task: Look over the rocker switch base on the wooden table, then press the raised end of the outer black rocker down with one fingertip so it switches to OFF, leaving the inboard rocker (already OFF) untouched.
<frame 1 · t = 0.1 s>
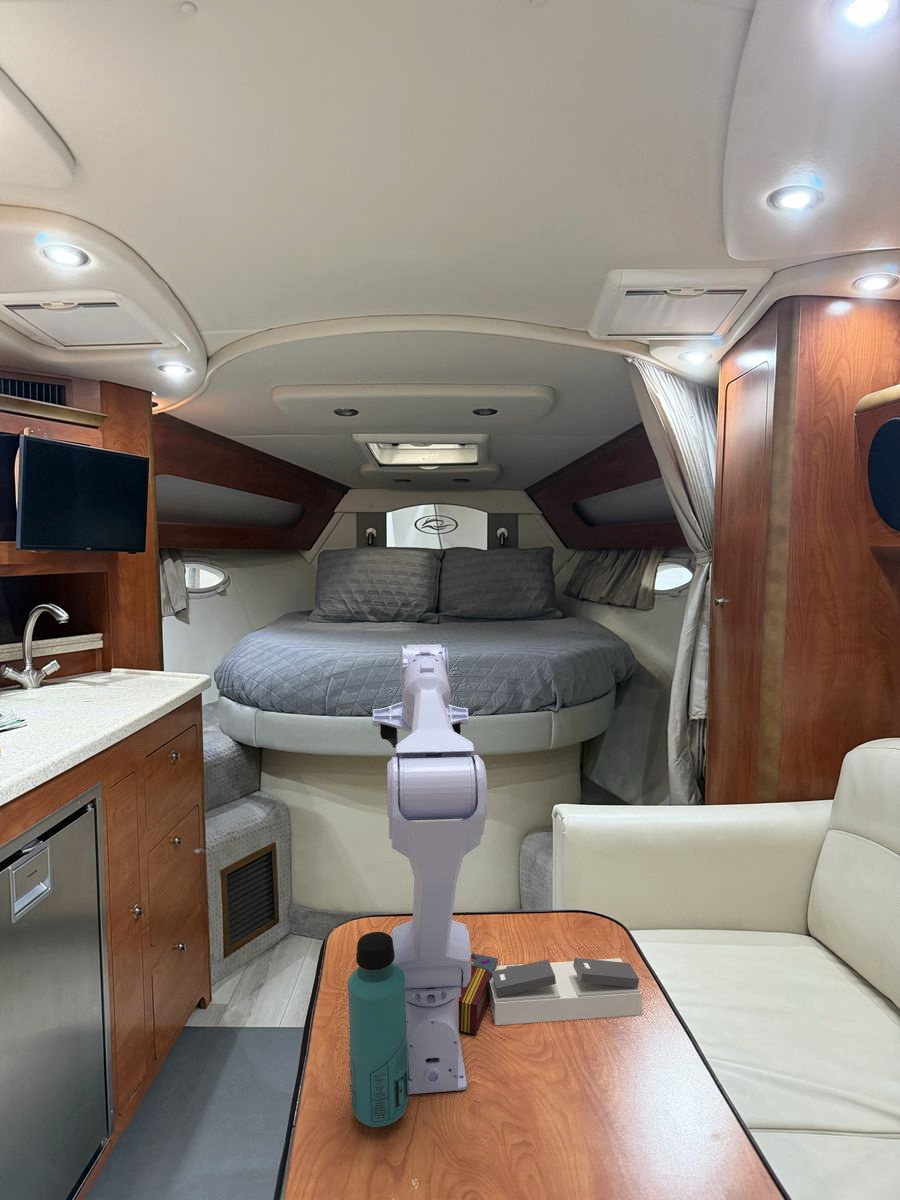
hand: (418, 741, 106), 32 cm above the table, tool tilted 50°, fingers open, 7 cm apart
rocker switch base: (561, 1000, 91), on the table
rocker inboard: (523, 977, 88), point 5 cm above the table, hinge at -9.0°
beverage bottle: (380, 1118, 71), on the table, touching arm
decorative book: (431, 1000, 91), on the table, touching arm, rocker switch base
rocker outer: (605, 972, 89), point 5 cm above the table, hinge at 9.0°
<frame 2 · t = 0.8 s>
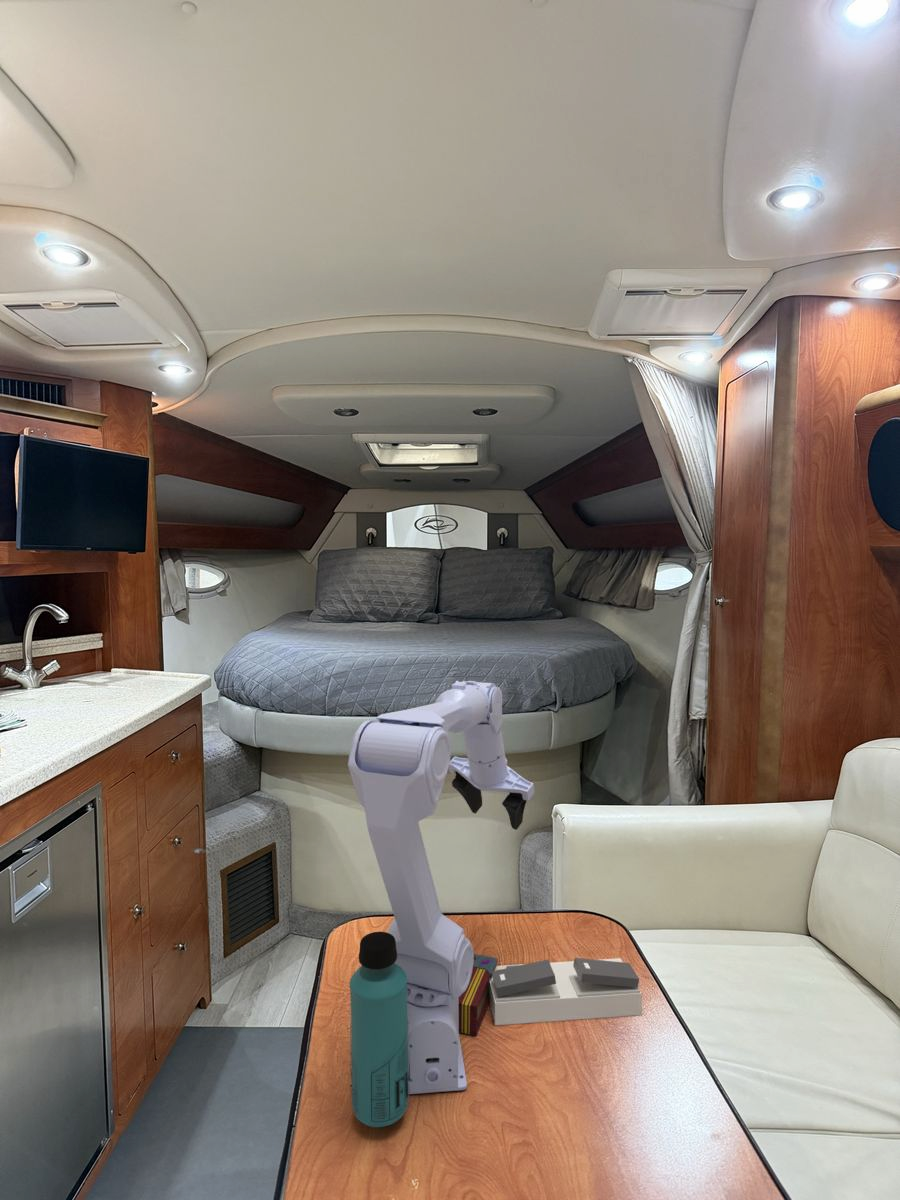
hand: (496, 816, 104), 20 cm above the table, tool tilted 25°, fingers open, 7 cm apart
beverage bottle: (380, 1118, 71), on the table
decorative book: (431, 1002, 91), on the table, touching rocker switch base
everything else where it was.
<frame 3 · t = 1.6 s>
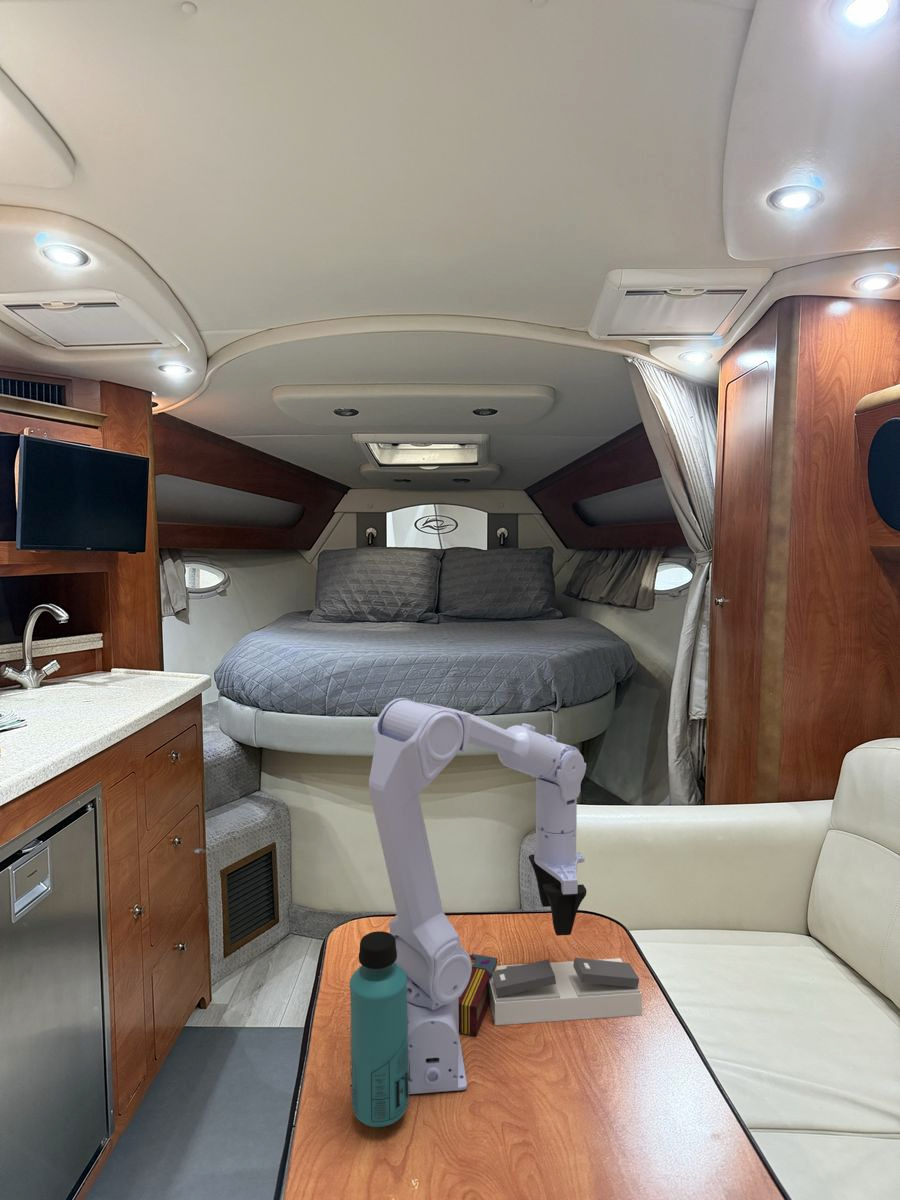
hand: (555, 919, 93), 10 cm above the table, tool pointing down, fingers open, 7 cm apart
nothing on the table moved.
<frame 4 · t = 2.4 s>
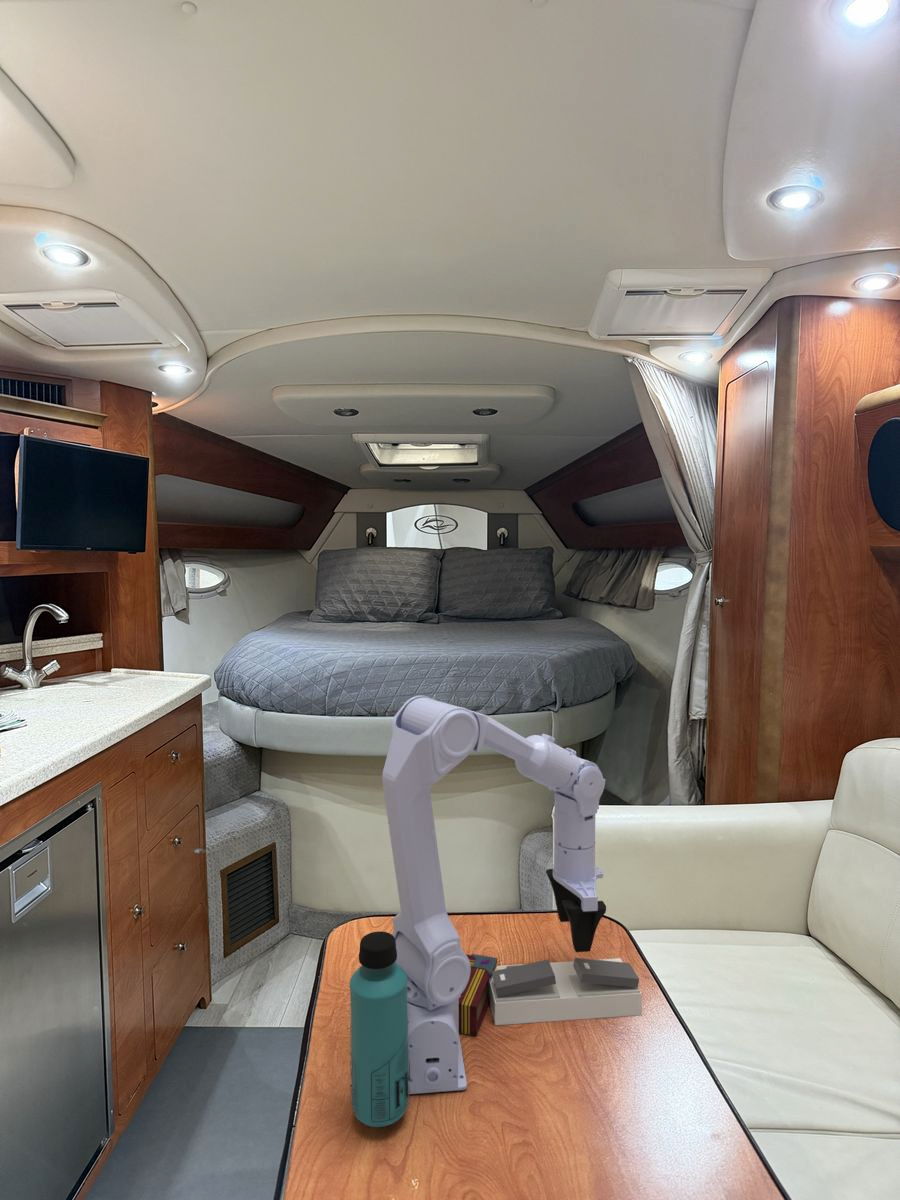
hand: (574, 934, 93), 8 cm above the table, tool pointing down, fingers open, 7 cm apart
nothing on the table moved.
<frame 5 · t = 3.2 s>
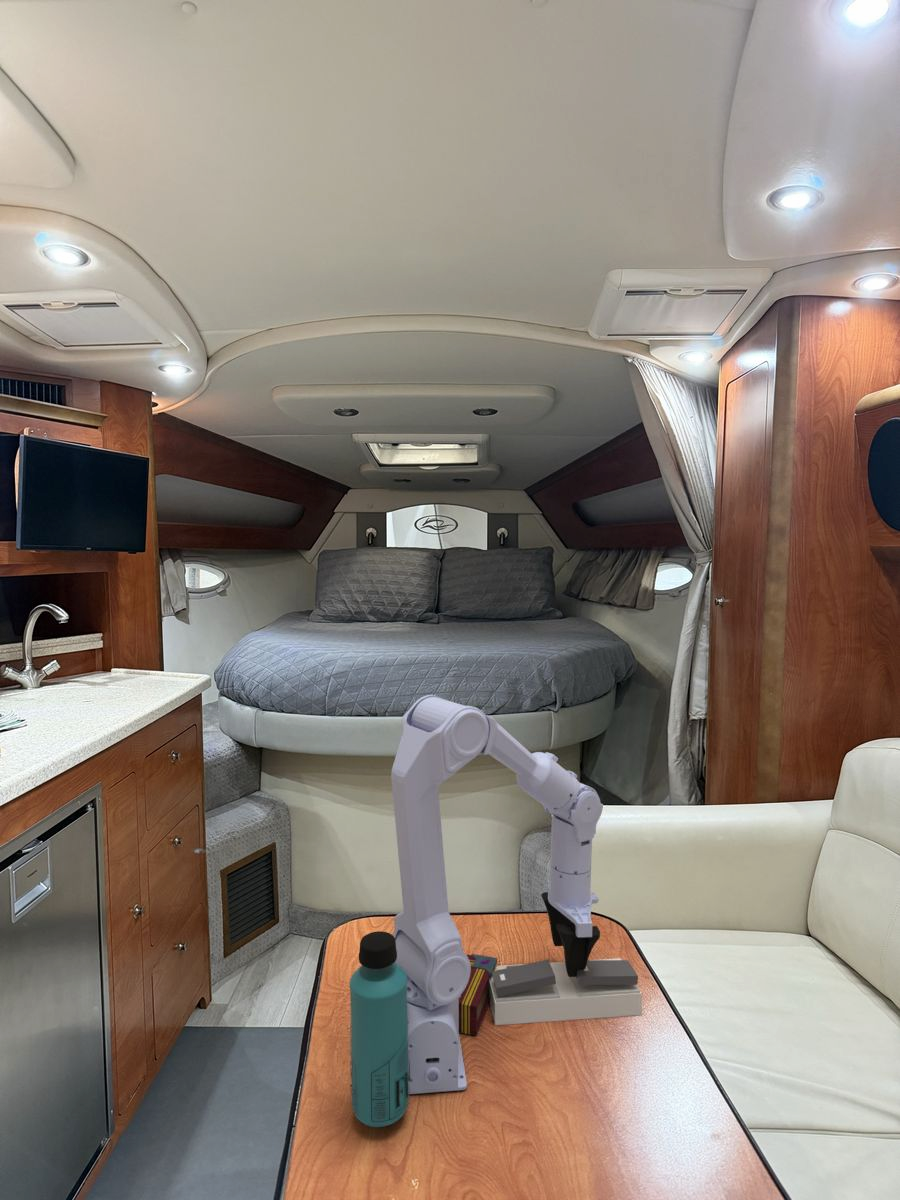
hand: (567, 959, 93), 5 cm above the table, tool pointing down, fingers open, 7 cm apart
rocker outer: (604, 972, 89), point 5 cm above the table, hinge at 3.1°, touching gripper
everything else where it was.
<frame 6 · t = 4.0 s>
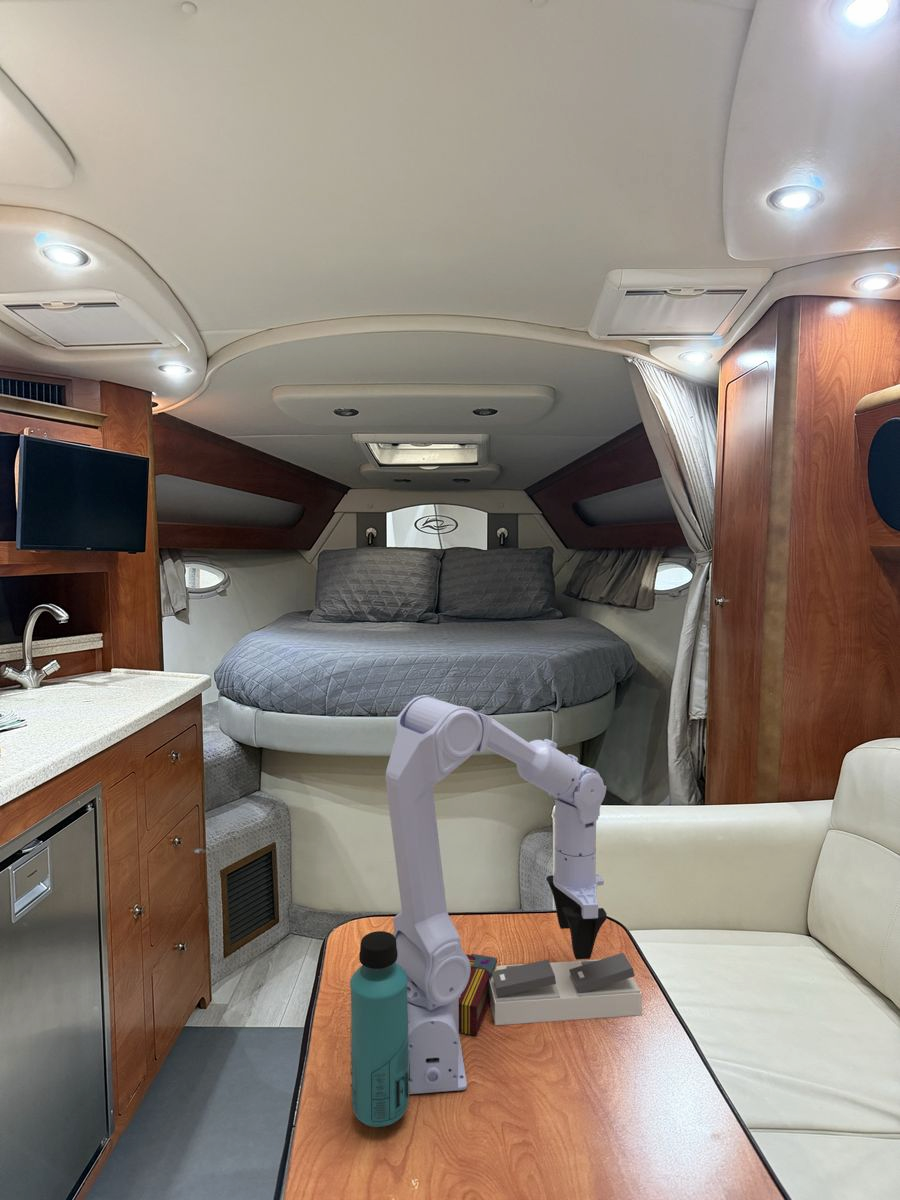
hand: (574, 941, 93), 7 cm above the table, tool pointing down, fingers open, 7 cm apart
rocker outer: (601, 972, 89), point 5 cm above the table, hinge at -14.5°, touching rocker switch base
everything else where it was.
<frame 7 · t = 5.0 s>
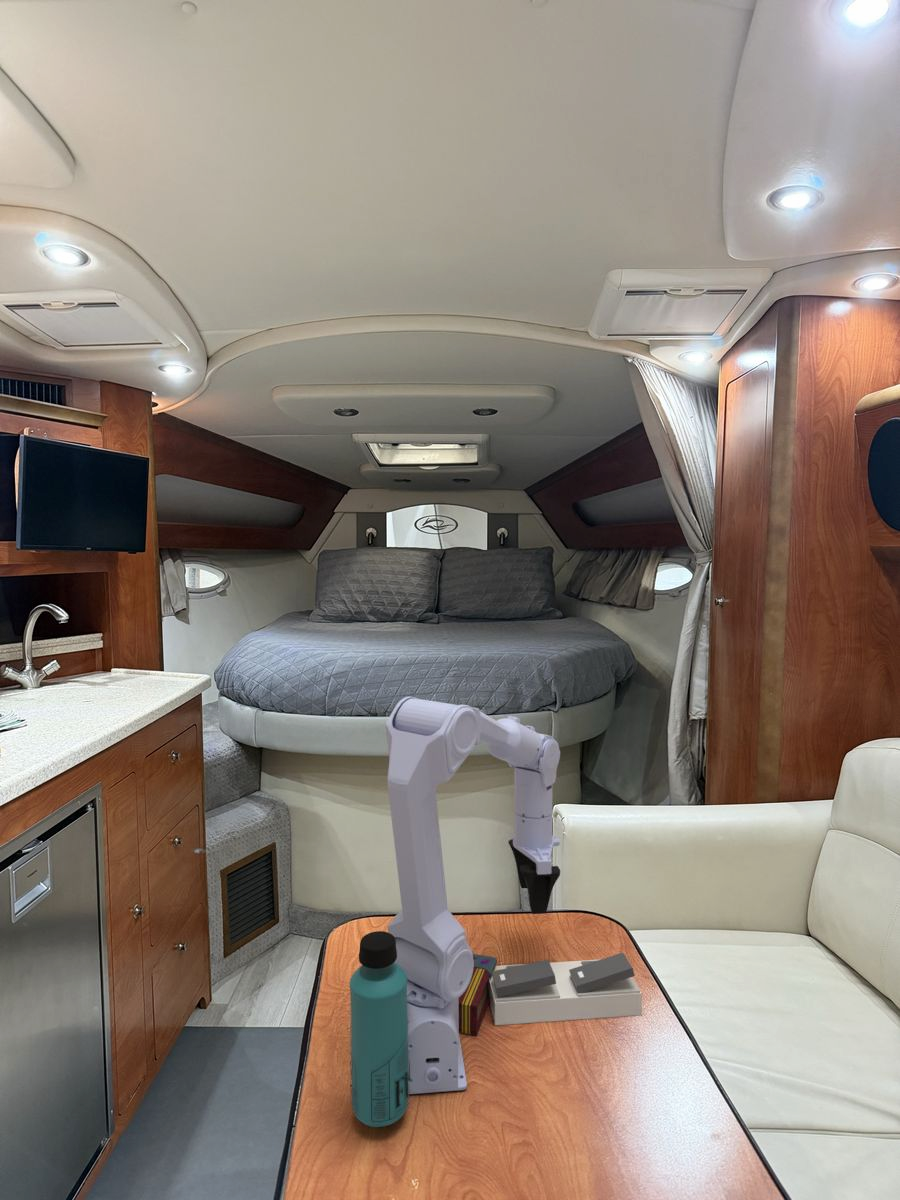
hand: (532, 899, 99), 10 cm above the table, tool pointing down, fingers open, 7 cm apart
nothing on the table moved.
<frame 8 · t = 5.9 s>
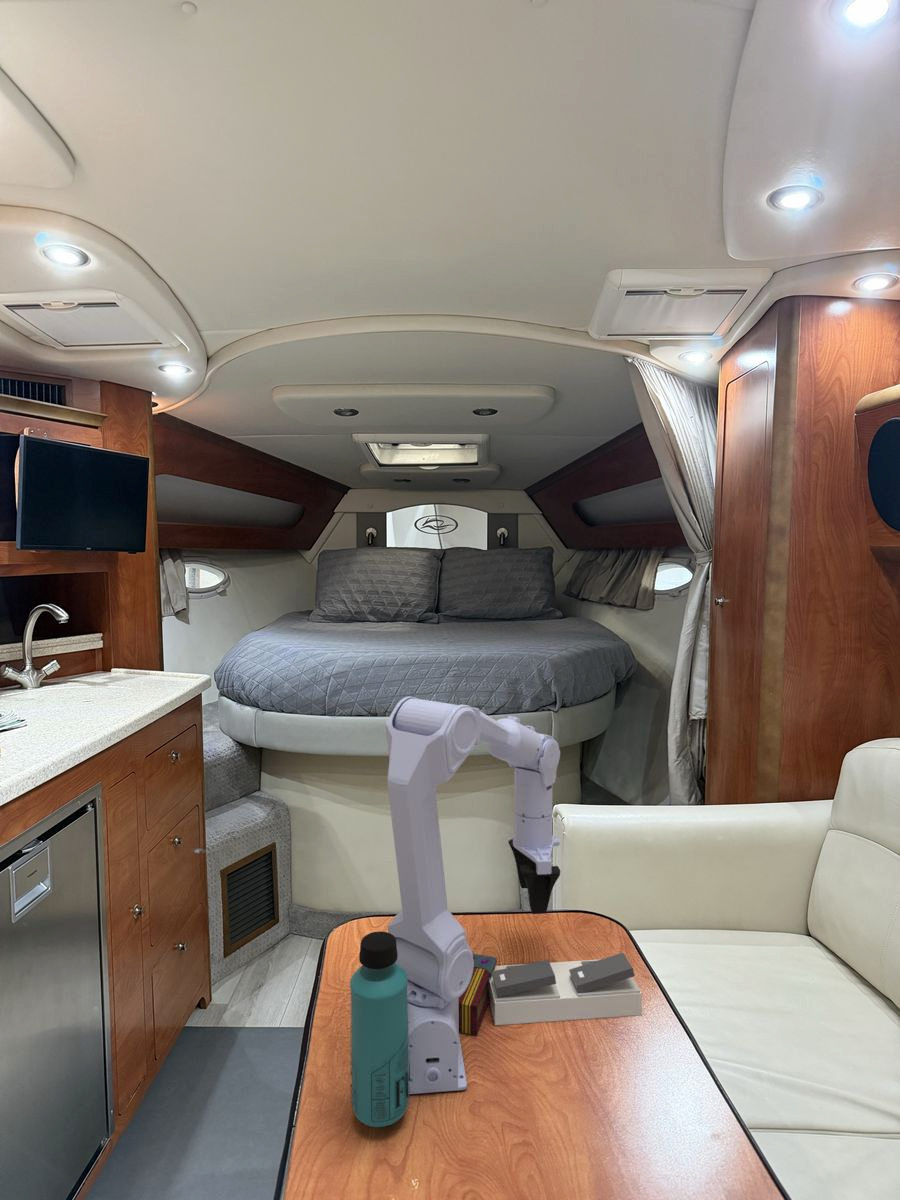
hand: (532, 899, 99), 10 cm above the table, tool pointing down, fingers open, 7 cm apart
nothing on the table moved.
at the end: rocker outer at -14° (first picture: +9°); rocker inboard at -9° (first picture: -9°) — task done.
